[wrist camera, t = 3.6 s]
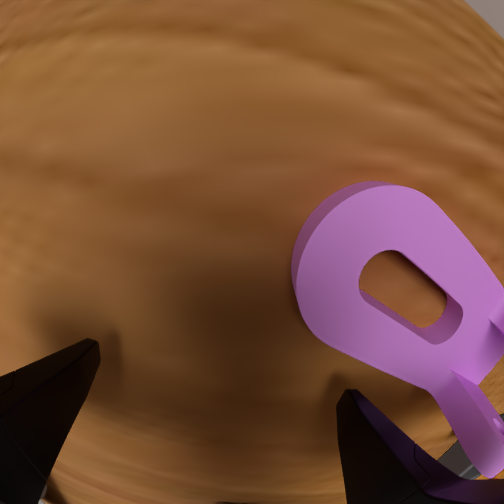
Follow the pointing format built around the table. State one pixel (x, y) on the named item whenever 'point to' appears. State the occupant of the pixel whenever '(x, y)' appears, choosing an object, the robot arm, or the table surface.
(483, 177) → the table surface
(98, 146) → the table surface
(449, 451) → the trap pit
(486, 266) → the bracket
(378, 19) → the table surface
